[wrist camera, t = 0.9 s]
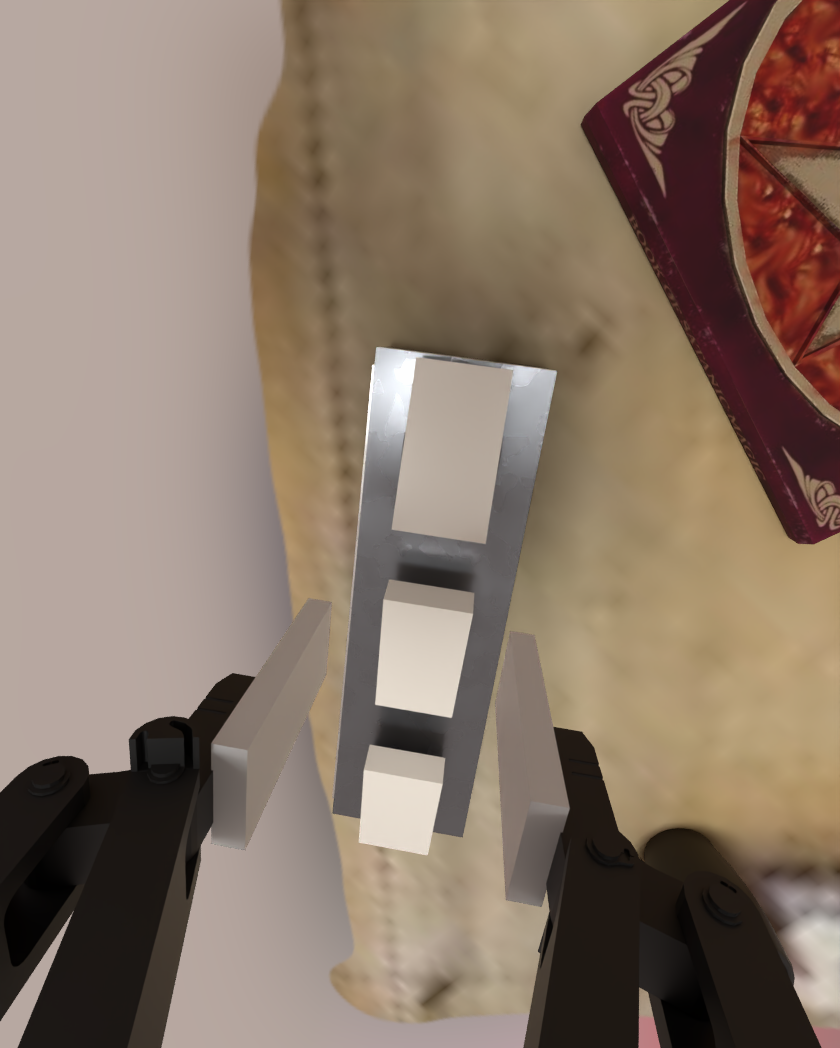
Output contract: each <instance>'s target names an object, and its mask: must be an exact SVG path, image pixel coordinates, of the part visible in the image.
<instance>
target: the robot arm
mask: <svg viewBox="0 0 840 1048" xmlns="http://www.w3.org/2000/svg"><path fill="white" fill-rule="evenodd" d="M331 607H332V602H329V601H323V600H316V599H310V598H309V599H308V600H307V602H306V603H305V604H304V606H303V607H302V609H301V610H300V612H299V613H298V615H297V616H296V618H295V619H294V621H293V622H292V624H291V625H290V627H289V628H288V630H287V631H286V633H285V634H284V636H283V637H282V639H281V640H280V642H279V643H278V645H277V646H276V648H275V649H274V651H273V652H272V654H271V655H270V657H269V658H268V660H267V661H266V663H265V664H264V666H263V667H262V669H261V670H260V672H259V673H258V675H257V676H256V677H251V676H246V675H240V674H234V673H232V674H230V675H229V676H227V677H226V678H224V679H222V680H221V681H220V682H218V683H216V684H215V686H214V687H213V688H212V690H211V691H210V692H209V694H208V695H207V696H206V699H204V700H203V701H202V702H201V704H200V705H199V706H198V709H197V710H195V711H194V713H193V714H192V715H191V717H190V718H189V719H187V718H184V717H175V716H171V717H164V718H158V719H156V720H153V721H151V722H148V723H146V724H144V725H143V726H141V727H140V728H138V729H137V730H135V732H134V733H133V735H132V736H131V737H130V739H129V749H130V764H131V770H128V771H121V772H113V773H101V774H89V768H88V765H87V764H86V763H85V762H84V761H83V760H82V759H79V758H76V757H73V756H58V757H53V758H50V759H45V760H42V761H40V762H38V763H36V764H34V765H32V766H30V767H28V768H27V769H25V770H24V771H23V772H21V773H20V774H19V775H18V776H17V777H15V778H14V779H13V780H12V781H11V782H10V783H9V785H7V786H6V787H5V788H4V789H3V790H2V791H1V792H0V1021H1V1019H2V1018H3V1016H4V1015H5V1013H6V1012H7V1010H8V1009H9V1007H10V1006H11V1004H12V1003H13V1001H14V1000H15V998H16V996H17V995H18V994H19V992H20V991H21V989H22V988H23V986H24V984H25V983H26V982H27V980H28V979H29V977H30V975H31V974H32V973H33V971H34V969H35V968H36V966H37V965H38V964H39V962H40V961H41V959H42V958H43V956H44V954H45V953H46V951H47V950H48V948H49V947H50V945H51V944H52V942H53V941H54V939H55V938H56V936H57V935H58V933H59V932H60V930H61V929H62V927H63V926H64V924H65V923H66V921H67V920H68V918H69V917H70V915H71V914H72V912H73V911H74V912H73V914H72V917H71V919H70V922H69V924H68V927H67V929H66V931H65V934H64V936H63V939H62V941H61V944H60V946H59V949H58V951H57V954H56V956H55V958H54V961H53V963H52V965H51V968H50V970H49V973H48V975H47V978H46V980H45V983H44V985H43V987H42V990H41V993H40V995H39V997H38V1000H37V1002H36V1004H35V1007H34V1009H33V1012H32V1014H31V1017H30V1019H29V1022H28V1024H27V1026H26V1029H25V1031H24V1034H23V1036H22V1039H21V1041H20V1044H19V1046H18V1048H161V1045H162V1041H163V1037H164V1032H165V1027H166V1022H167V1017H168V1013H169V1008H170V1004H171V999H172V994H173V989H174V985H175V980H176V975H177V970H178V966H179V961H180V956H181V952H182V946H183V942H184V937H185V932H186V927H187V923H188V918H189V914H190V909H191V904H192V899H193V895H194V890H195V886H196V881H197V876H198V871H199V867H200V862H201V844H202V842H203V840H204V838H205V836H206V835H207V833H208V831H209V829H210V828H211V833H212V834H211V837H212V838H211V839H212V844H214V845H220V846H225V847H230V848H235V849H241V850H245V849H246V847H247V845H248V843H249V841H250V839H251V837H252V834H253V832H254V830H255V828H256V826H257V824H258V821H259V819H260V817H261V815H262V813H263V810H264V808H265V806H266V804H267V802H268V799H269V798H270V795H271V793H272V791H273V789H274V787H275V784H276V782H277V780H278V778H279V776H280V774H281V771H282V769H283V767H284V765H285V763H286V761H287V758H288V756H289V754H290V752H291V750H292V748H293V745H294V743H295V741H296V739H297V737H298V734H299V732H300V730H301V728H302V726H303V724H304V721H305V719H306V717H307V715H308V713H309V711H310V709H311V706H312V704H313V702H314V700H315V698H316V695H317V693H318V691H319V689H320V687H321V685H322V682H323V680H324V678H325V676H326V670H327V658H328V645H329V633H330V620H331ZM495 707H496V726H497V744H498V763H499V782H500V801H501V819H502V838H503V857H504V875H505V894H506V900H508V901H513V902H519V903H524V904H529V905H534V906H540V907H542V904H543V900H544V897H545V893H546V890H547V895H548V902H549V910H550V912H549V915H548V919H547V922H546V926H545V929H544V932H543V936H542V939H541V943H540V946H539V949H538V952H539V953H540V958H539V964H538V970H537V975H536V981H535V986H534V992H533V997H532V1003H531V1009H530V1014H529V1020H528V1025H527V1031H526V1037H525V1042H524V1048H638V1042H639V1041H638V1040H639V987H640V988H642V989H643V990H645V991H647V992H648V994H649V998H650V1003H651V1007H652V1012H653V1016H654V1020H655V1025H656V1029H657V1034H658V1038H659V1043H660V1047H661V1048H821V1046H820V1044H819V1041H818V1039H817V1037H816V1035H815V1033H814V1030H813V1028H812V1026H811V1024H810V1022H809V1019H808V1017H807V1015H806V1013H805V1011H804V1008H803V1006H802V1004H801V1002H800V1000H799V997H798V995H797V993H796V991H795V989H794V987H793V984H792V982H791V980H790V978H789V976H788V973H787V971H786V969H785V967H784V965H783V962H782V960H781V958H780V956H779V954H778V951H777V949H776V947H775V945H774V943H773V941H772V938H771V936H770V934H769V932H768V930H767V927H766V925H765V923H764V921H763V919H762V916H761V914H760V912H759V911H758V909H757V908H756V906H755V905H754V903H753V901H752V900H751V899H750V898H749V897H748V896H747V895H746V894H745V893H744V892H743V891H742V890H741V889H740V888H739V887H738V886H737V885H735V884H734V883H732V882H731V881H729V880H728V879H726V878H725V877H723V876H720V875H717V874H715V873H712V872H709V871H695V872H693V873H691V874H689V875H688V876H687V878H686V880H685V882H682V881H680V880H678V879H676V878H673V877H671V876H669V875H667V874H665V873H663V872H661V871H658V870H656V869H655V868H653V867H651V866H649V865H647V864H646V863H645V862H643V861H642V860H641V859H639V858H638V853H637V852H636V850H635V849H634V847H633V845H632V844H631V842H630V841H629V840H628V839H627V838H626V837H624V836H623V835H622V834H621V833H620V832H619V831H618V827H617V824H616V821H615V817H614V814H613V810H612V807H611V804H610V800H609V797H608V793H607V790H606V787H605V783H604V781H603V780H602V778H603V776H602V773H601V770H600V767H599V763H598V760H597V756H596V753H595V749H594V747H593V746H592V744H591V743H590V742H589V740H588V739H587V738H586V737H585V735H584V734H583V733H582V732H580V731H574V730H568V729H563V728H557V727H553V724H552V719H551V714H550V709H549V704H548V699H547V694H546V689H545V684H544V679H543V674H542V669H541V664H540V660H539V655H538V650H537V645H536V640H535V635H532V634H526V633H520V632H514V631H510V635H509V639H508V644H507V649H506V654H505V659H504V664H503V668H502V673H501V678H500V683H499V688H498V693H497V697H496V702H495Z"/></svg>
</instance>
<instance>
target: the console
mask: <svg viewBox="0 0 840 1048" xmlns="http://www.w3.org/2000/svg"><path fill="white" fill-rule="evenodd" d="M416 357H419V358H427V359H434V360H441V361H449V362H456V363H464V364H471V365H478V366H486V367H493V368H501V369H508V370H513V375H512V381H511V387H510V394H509V400H508V406H507V412H506V419H505V425H504V431H503V441H502V451H501V458H500V464H499V469H498V474H497V478H496V482H495V488H494V494H493V500H492V507H491V513H490V519H489V525H488V532H487V538H486V544H482V543H475V542H469V541H462V540H456V539H449V538H443V537H436V536H430V535H423V534H417V533H410V532H404V531H397V530H392V523H393V516H394V509H395V502H396V495H397V488H398V481H399V474H400V467H401V455H402V447H403V440H404V435H405V430H406V425H407V418H408V411H409V404H410V397H411V390H412V383H413V376H414V369H415V362H416ZM556 374H557V371H555V370H551V369H548V368H543V367H535V366H528V365H520V364H513V363H505V362H498V361H491V360H483V359H476V358H468V357H461V356H453V355H446V354H438V353H431V352H424V351H416V350H409V349H401V348H394V347H376V355H375V365H372V376H371V386H370V397H369V408H368V419H367V429H366V440H365V451H364V462H363V473H362V483H361V494H360V505H359V516H358V527H357V537H356V548H355V559H354V570H353V581H352V591H351V602H350V613H349V624H348V635H347V645H346V656H345V667H344V678H343V689H342V699H341V710H340V721H339V732H338V743H337V753H336V764H335V775H334V786H333V797H332V798H334V802H333V814H339V815H344V816H349V817H355V818H360V819H361V800H362V789H363V775H364V767H365V763H366V758H367V754H368V750H369V746H370V745H375V746H381V747H386V748H392V749H398V750H403V751H409V752H415V753H420V754H426V755H432V756H437V757H443V758H445V765H444V775H443V785H442V789H441V794H440V799H439V805H438V811H437V816H436V818H435V822H434V827H433V832H436V833H441V834H447V835H452V836H457V837H463V833H464V828H465V823H466V818H467V813H468V808H469V803H470V798H471V793H472V788H473V783H474V778H475V773H476V769H477V764H478V759H479V754H480V749H481V744H482V739H483V734H484V729H485V724H486V719H487V714H488V709H489V704H490V700H491V695H492V690H493V685H494V680H495V675H496V670H497V665H498V660H499V655H500V650H501V645H502V640H503V635H504V631H505V626H506V621H507V616H508V611H509V606H510V601H511V596H512V591H513V586H514V581H515V576H516V571H517V566H518V562H519V557H520V552H521V547H522V542H523V537H524V532H525V527H526V522H527V517H528V512H529V507H530V502H531V497H532V493H533V488H534V483H535V478H536V473H537V468H538V463H539V458H540V453H541V448H542V443H543V438H544V433H545V428H546V424H547V419H548V414H549V409H550V404H551V399H552V394H553V389H554V384H555V379H556ZM389 579H390V580H397V581H403V582H409V583H416V584H422V585H428V586H434V587H441V588H447V589H453V590H460V591H466V592H472V593H474V607H473V617H472V621H471V626H470V631H469V636H468V641H467V647H466V654H465V660H464V665H463V669H462V670H461V675H460V680H459V685H458V690H457V695H456V700H455V705H454V710H453V714H452V718H449V717H443V716H438V715H432V714H426V713H420V712H414V711H409V710H403V709H397V708H391V707H385V706H380V705H375V701H376V688H377V675H378V662H379V645H380V637H381V624H382V611H383V599H384V596H385V592H386V589H387V585H388V582H389Z"/></svg>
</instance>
